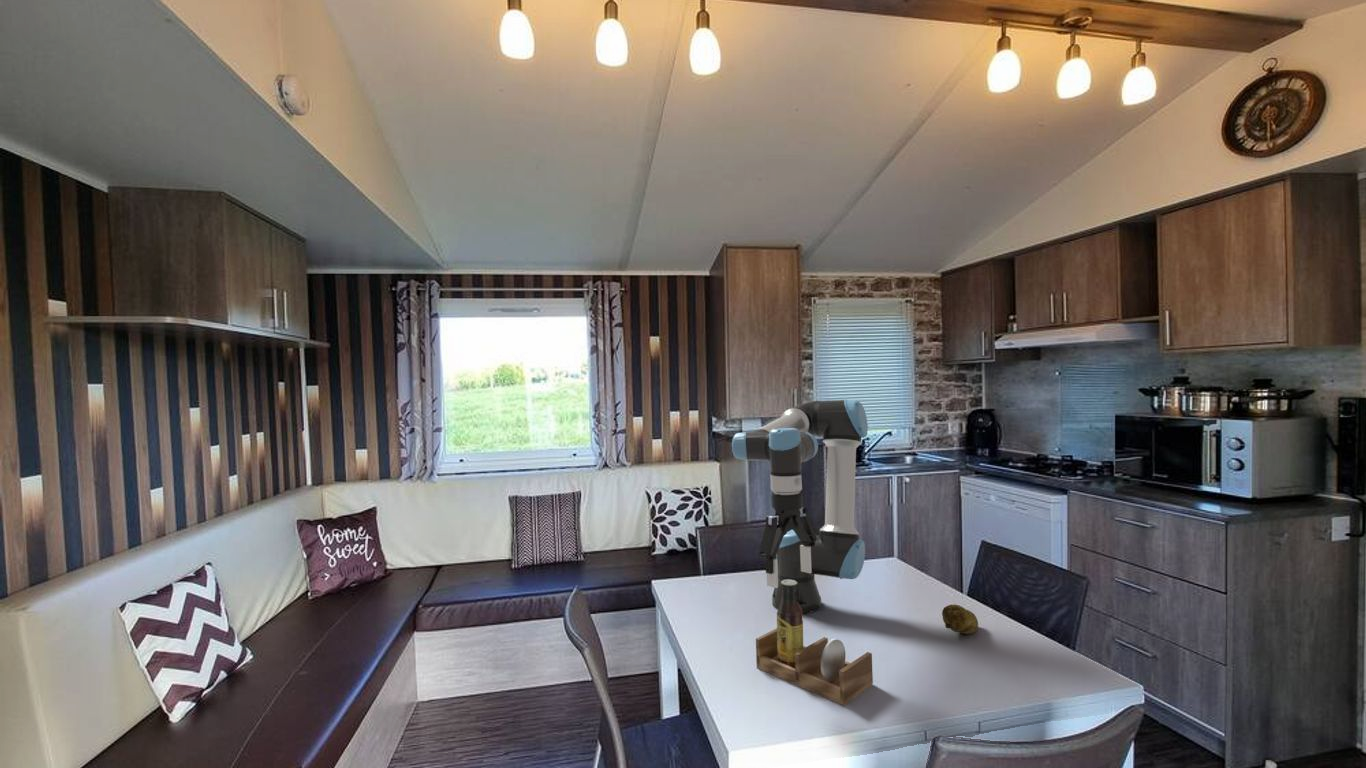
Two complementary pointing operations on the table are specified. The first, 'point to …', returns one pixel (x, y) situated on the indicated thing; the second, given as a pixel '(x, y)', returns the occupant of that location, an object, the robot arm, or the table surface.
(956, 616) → the potato
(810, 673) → the dish rack
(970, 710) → the table surface
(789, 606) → the sauce bottle
